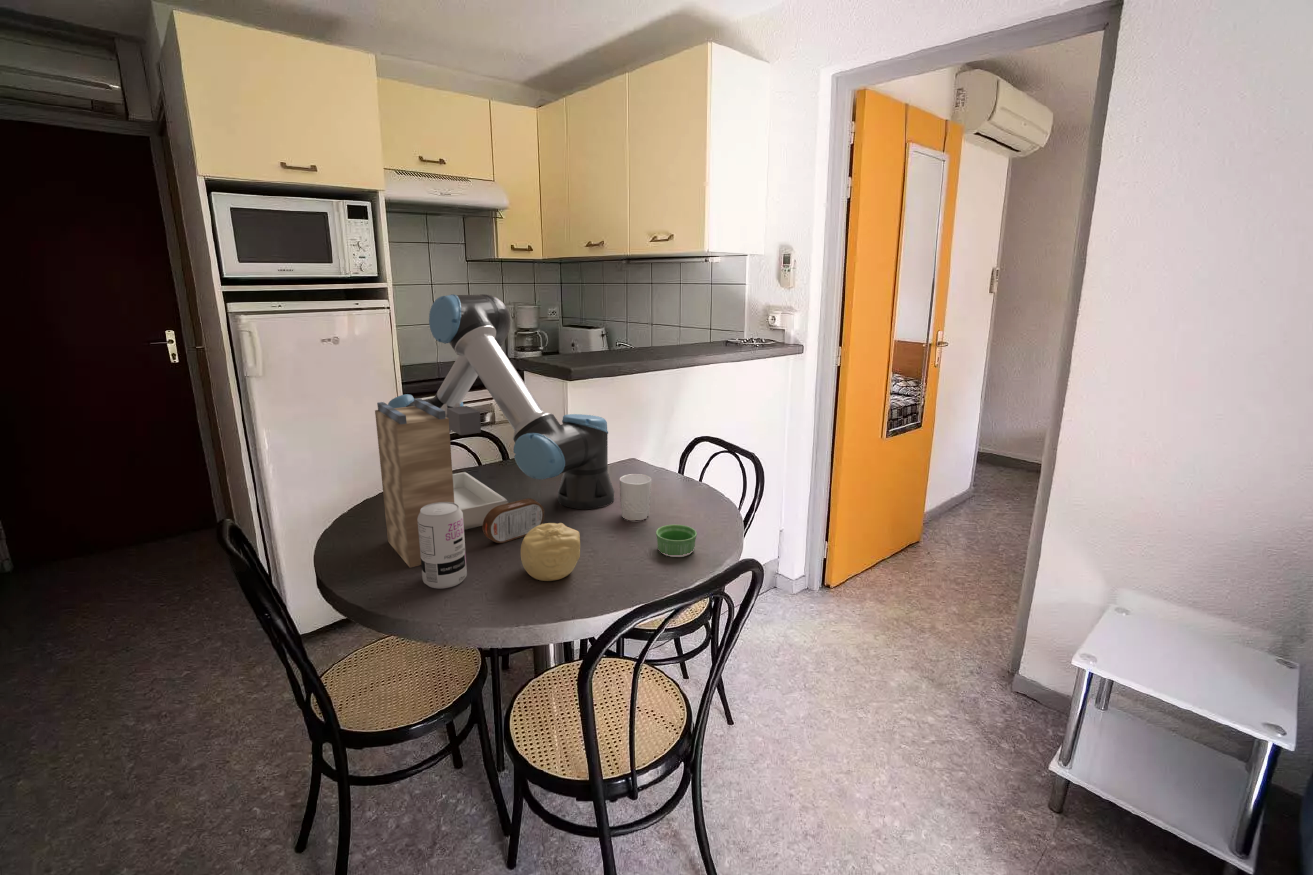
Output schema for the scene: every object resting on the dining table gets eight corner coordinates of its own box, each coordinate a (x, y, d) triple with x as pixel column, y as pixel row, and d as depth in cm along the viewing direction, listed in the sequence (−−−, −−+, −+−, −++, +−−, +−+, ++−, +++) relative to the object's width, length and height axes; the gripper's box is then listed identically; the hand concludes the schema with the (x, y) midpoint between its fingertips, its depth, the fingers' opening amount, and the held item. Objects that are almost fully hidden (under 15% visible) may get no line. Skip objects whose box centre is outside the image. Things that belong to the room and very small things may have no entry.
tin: (539, 526, 147) (538, 493, 145) (547, 530, 145) (546, 497, 143) (482, 544, 137) (480, 509, 135) (489, 549, 135) (487, 513, 133)
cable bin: (416, 498, 164) (415, 480, 163) (466, 488, 172) (465, 471, 171) (454, 532, 143) (452, 512, 142) (508, 519, 151) (507, 500, 150)
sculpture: (528, 592, 117) (526, 539, 114) (516, 565, 127) (514, 517, 125) (586, 581, 121) (586, 530, 118) (570, 556, 132) (569, 509, 129)
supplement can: (429, 571, 124) (423, 501, 121) (471, 570, 125) (466, 500, 121) (417, 590, 116) (411, 516, 113) (462, 589, 117) (457, 515, 113)
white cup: (652, 511, 158) (653, 474, 155) (649, 523, 150) (649, 484, 148) (622, 510, 159) (622, 473, 156) (617, 521, 151) (617, 483, 149)
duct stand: (388, 541, 138) (374, 402, 130) (433, 531, 144) (422, 398, 136) (410, 567, 125) (396, 416, 118) (458, 555, 131) (448, 410, 124)
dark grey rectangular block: (430, 418, 159) (429, 399, 158) (450, 416, 162) (448, 397, 161) (460, 435, 143) (459, 414, 142) (481, 432, 146) (479, 411, 145)
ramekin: (649, 545, 138) (649, 527, 137) (685, 539, 142) (685, 522, 140) (665, 562, 130) (666, 543, 129) (703, 555, 134) (704, 537, 133)
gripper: (459, 445, 175) (486, 419, 156) (402, 454, 165) (424, 426, 147) (453, 420, 176) (479, 391, 157) (396, 427, 167) (417, 397, 148)
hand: (452, 408), depth 152 cm, fingers closed on dark grey rectangular block, 2 cm apart
